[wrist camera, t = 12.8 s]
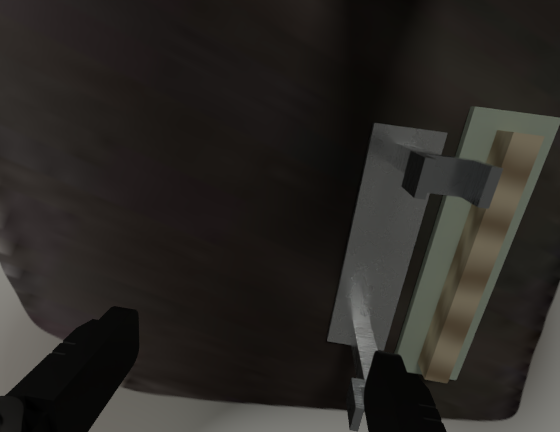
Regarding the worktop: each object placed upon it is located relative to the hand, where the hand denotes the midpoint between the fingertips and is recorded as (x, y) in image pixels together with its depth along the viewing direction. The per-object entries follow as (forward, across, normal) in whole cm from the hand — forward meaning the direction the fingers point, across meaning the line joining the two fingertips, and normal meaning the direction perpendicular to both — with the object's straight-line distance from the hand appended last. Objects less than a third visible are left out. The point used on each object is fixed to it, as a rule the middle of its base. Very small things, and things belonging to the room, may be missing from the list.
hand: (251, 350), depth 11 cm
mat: (+30, -22, +8) cm, 38 cm away
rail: (+29, -22, +8) cm, 38 cm away
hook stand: (+30, -12, +8) cm, 33 cm away
